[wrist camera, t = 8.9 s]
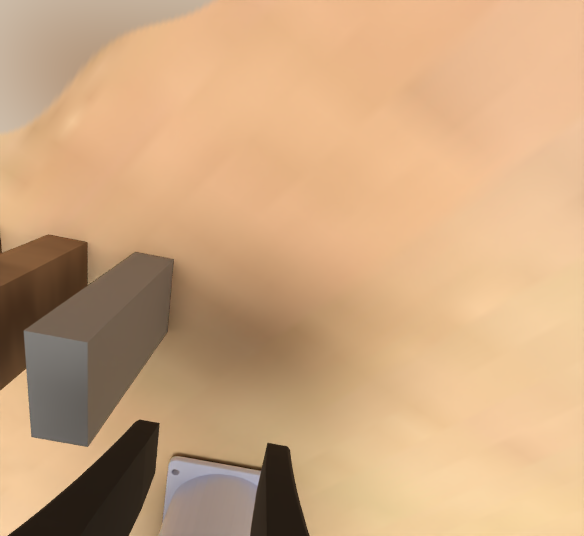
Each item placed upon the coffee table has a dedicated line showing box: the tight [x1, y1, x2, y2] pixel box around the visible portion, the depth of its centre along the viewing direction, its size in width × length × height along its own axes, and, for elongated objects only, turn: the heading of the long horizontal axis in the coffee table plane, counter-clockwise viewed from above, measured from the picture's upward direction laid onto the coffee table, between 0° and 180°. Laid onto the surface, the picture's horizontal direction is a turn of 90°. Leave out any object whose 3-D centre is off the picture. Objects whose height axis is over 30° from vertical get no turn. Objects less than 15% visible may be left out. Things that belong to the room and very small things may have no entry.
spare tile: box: [24, 252, 174, 447], centre depth 16 cm, size 4×2×8 cm, turn 169°
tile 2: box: [0, 235, 87, 390], centre depth 16 cm, size 4×2×8 cm, turn 169°
